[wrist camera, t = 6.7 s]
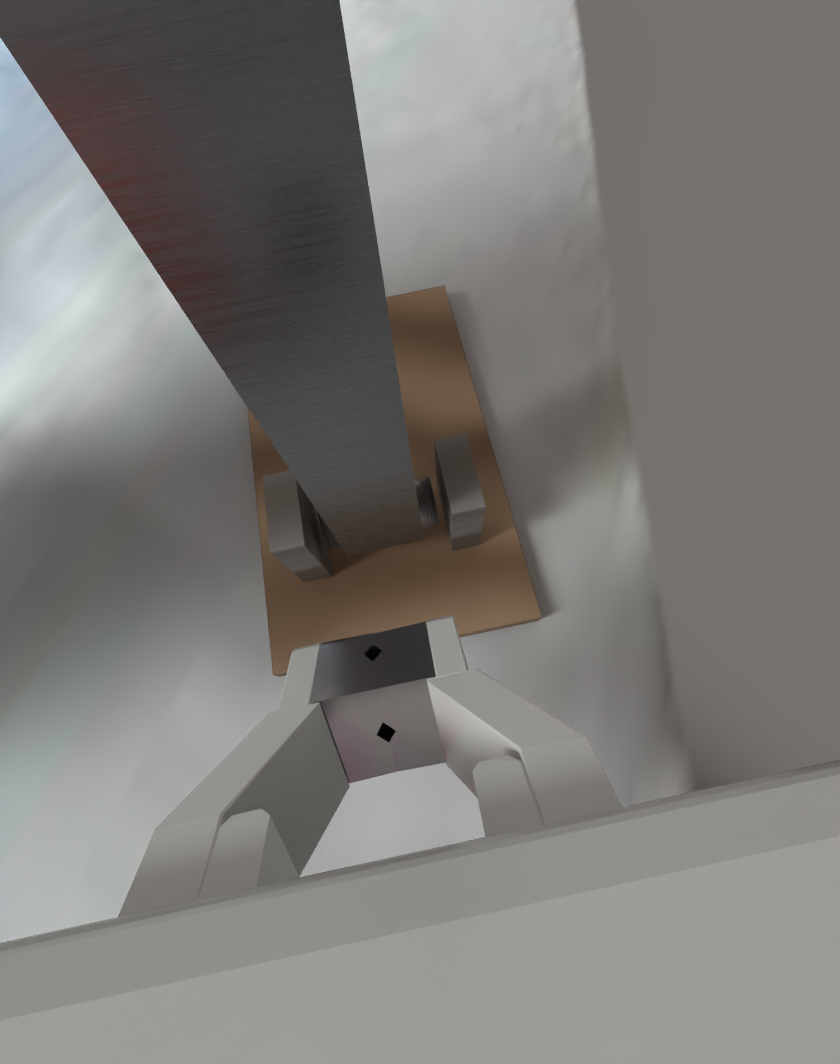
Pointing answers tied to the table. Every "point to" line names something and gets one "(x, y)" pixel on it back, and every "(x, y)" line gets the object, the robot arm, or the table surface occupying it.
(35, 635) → the table surface
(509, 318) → the table surface
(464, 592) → the lever base
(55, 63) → the lever
